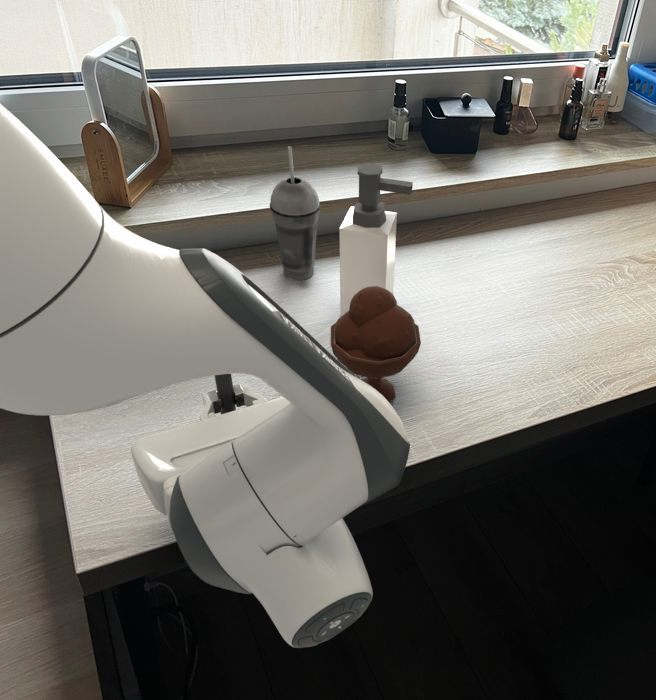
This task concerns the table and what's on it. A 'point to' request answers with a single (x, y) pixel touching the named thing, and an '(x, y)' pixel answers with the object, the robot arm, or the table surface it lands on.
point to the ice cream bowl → (375, 338)
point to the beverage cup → (296, 224)
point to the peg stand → (225, 392)
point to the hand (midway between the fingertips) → (223, 392)
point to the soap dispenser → (369, 236)
